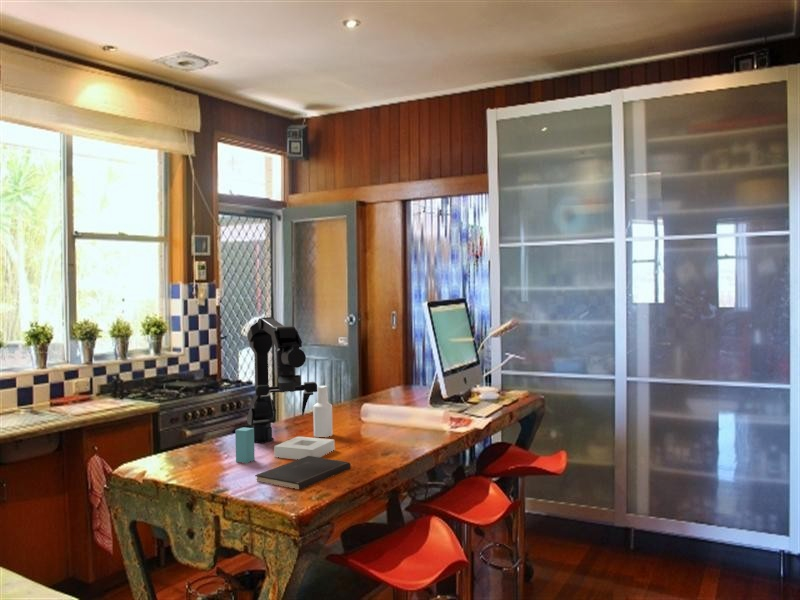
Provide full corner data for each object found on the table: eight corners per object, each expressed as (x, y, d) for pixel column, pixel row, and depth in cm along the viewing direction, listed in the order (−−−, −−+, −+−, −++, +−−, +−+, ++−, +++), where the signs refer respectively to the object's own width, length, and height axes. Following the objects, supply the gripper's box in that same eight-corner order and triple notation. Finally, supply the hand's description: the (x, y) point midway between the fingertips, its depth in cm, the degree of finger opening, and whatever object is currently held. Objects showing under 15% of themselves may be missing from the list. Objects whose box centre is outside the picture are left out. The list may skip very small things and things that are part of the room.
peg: (236, 462, 196) (235, 430, 195) (243, 458, 199) (243, 427, 199) (246, 463, 194) (246, 431, 194) (254, 460, 198) (253, 428, 198)
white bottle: (334, 433, 232) (333, 384, 232) (330, 438, 226) (329, 387, 225) (316, 433, 233) (315, 384, 233) (311, 437, 226) (310, 387, 226)
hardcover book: (255, 483, 176) (255, 474, 176) (308, 463, 195) (308, 455, 195) (299, 492, 167) (299, 483, 167) (350, 470, 187) (350, 462, 187)
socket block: (274, 457, 201) (274, 446, 201) (298, 446, 214) (297, 436, 214) (312, 461, 195) (312, 449, 195) (334, 450, 208) (334, 439, 208)
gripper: (254, 369, 189) (256, 422, 188) (317, 366, 192) (319, 417, 192) (255, 367, 200) (257, 417, 199) (315, 364, 203) (317, 412, 203)
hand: (287, 416), depth 198 cm, fingers open, 9 cm apart
